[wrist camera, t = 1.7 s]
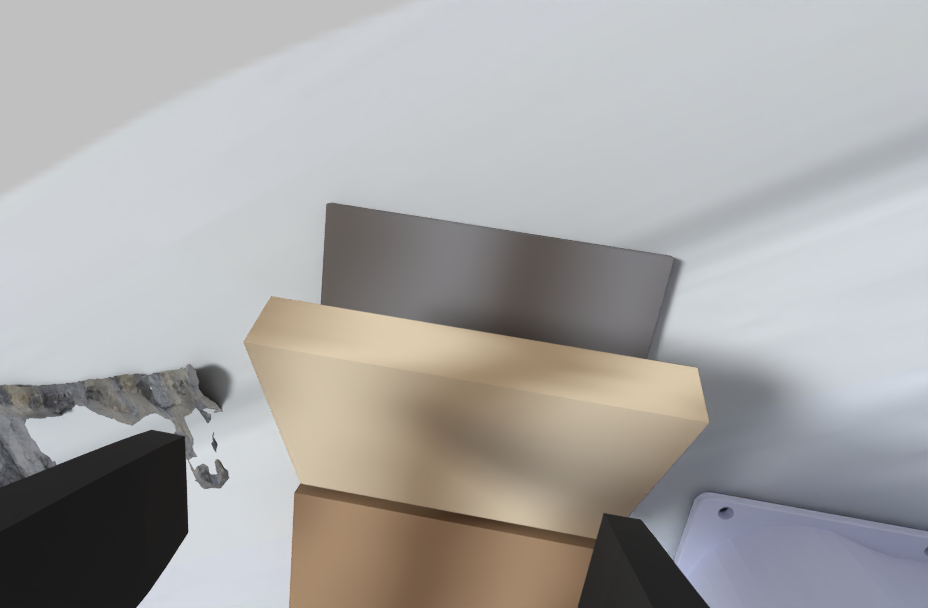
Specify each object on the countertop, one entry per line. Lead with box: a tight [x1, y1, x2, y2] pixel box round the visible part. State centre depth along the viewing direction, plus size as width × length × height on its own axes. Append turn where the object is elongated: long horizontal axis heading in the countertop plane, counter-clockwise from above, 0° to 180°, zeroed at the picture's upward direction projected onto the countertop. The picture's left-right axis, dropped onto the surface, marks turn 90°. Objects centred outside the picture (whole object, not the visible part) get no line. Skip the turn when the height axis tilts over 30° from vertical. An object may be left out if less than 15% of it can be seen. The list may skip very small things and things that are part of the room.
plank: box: [244, 296, 710, 539], centre depth 14 cm, size 11×8×2 cm
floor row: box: [289, 203, 674, 608], centre depth 17 cm, size 11×16×2 cm
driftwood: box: [0, 364, 229, 489], centre depth 20 cm, size 21×7×2 cm, turn 97°
